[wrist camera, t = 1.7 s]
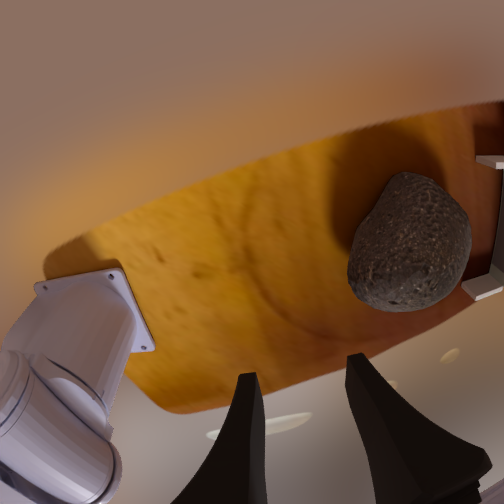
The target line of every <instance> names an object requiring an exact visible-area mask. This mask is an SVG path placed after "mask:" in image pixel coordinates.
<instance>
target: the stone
mask: <svg viewBox="0 0 504 504" xmlns="http://www.w3.org/2000/svg"><path fill="white" fill-rule="evenodd" d="M471 245H472V236H471V226H470V224H469V219H468V216H467V213H466V212H465V211H464V210H463V209H462V208H461V206H460V205H459V203H458V202H456V201H455V200H454V199H453V198H452V197H451V196H450V195H449V194H448V193H447V192H445V191H444V190H443V189H442V188H441V187H440V186H439V185H438V184H437V183H436V182H435V181H434V180H433V179H431V178H428V177H425V176H423V175H420V174H416V173H412V172H401V173H398V174H396V175H394V176H392V178H391V179H390V180H389V182H388V184H387V185H386V187H385V189H384V191H383V193H382V195H381V196H380V198H379V200H378V201H377V203H376V205H375V207H374V208H373V209H372V211H371V212H370V213H369V214H368V215H367V216H366V217H365V219H364V220H363V221H362V222H361V224H360V225H359V226H358V227H357V230H356V233H355V236H354V240H353V244H352V248H351V252H350V256H349V261H348V269H347V276H348V283H349V285H350V286H351V288H352V291H353V292H354V294H355V295H356V297H357V298H358V299H359V300H361V301H363V302H364V303H366V304H368V305H369V306H371V307H373V308H374V309H380V310H383V311H388V312H404V311H415V310H420V309H424V308H426V307H429V306H431V305H433V304H435V303H437V302H438V301H440V300H441V299H443V298H445V297H446V296H447V295H448V294H449V293H451V291H452V290H453V289H454V288H455V286H456V284H457V283H458V281H459V279H460V278H461V276H462V274H463V272H464V270H465V268H466V265H467V262H468V260H469V254H470V250H471Z"/></svg>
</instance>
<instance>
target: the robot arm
mask: <svg viewBox="0 0 504 504" xmlns="http://www.w3.org/2000/svg"><path fill="white" fill-rule="evenodd" d="M110 274H112V275H113V276H114V277H111V276H110ZM34 290H35V292H36V294H37V297H36V298H35V299H34V300H33V301H32V302H31V304H30V305H29V306H28V307H27V309H26V310H25V311H24V312H23V313H22V315H21V316H20V317H19V318H18V320H17V321H16V322H15V324H14V325H13V326H12V327H11V329H10V330H9V331H8V333H7V334H6V336H5V338H4V340H3V343H2V348H1V351H0V504H106V503H107V502H108V501H110V500H111V498H112V497H113V496H114V494H115V493H116V491H117V489H118V487H119V484H120V481H121V477H122V461H121V457H120V455H119V452H118V451H117V449H116V448H115V446H114V445H113V444H112V443H111V442H110V440H111V436H112V433H113V429H114V428H113V427H112V426H111V425H110V424H109V422H108V417H109V414H110V411H111V408H112V405H113V401H114V398H115V395H116V392H117V389H118V386H119V383H120V380H121V377H122V374H123V372H124V369H125V366H126V363H127V360H128V357H129V355H130V352H146V351H153V350H154V349H155V343H154V341H153V339H152V336H151V334H150V332H149V330H148V328H147V326H146V324H145V321H144V319H143V317H142V315H141V312H140V310H139V308H138V306H137V303H136V301H135V299H134V296H133V294H132V291H131V289H130V287H129V284H128V282H127V279H126V277H125V274H124V272H123V270H122V269H120V268H111V269H106V270H100V271H95V272H89V273H84V274H79V275H73V276H68V277H62V278H57V279H52V280H46V281H41V282H37V283H35V284H34ZM144 346H146V347H144ZM345 388H346V392H347V397H348V401H349V405H350V408H351V411H352V413H353V416H354V419H355V422H356V424H357V427H358V430H359V433H360V435H361V438H362V441H363V444H364V447H365V450H366V453H367V456H368V461H369V466H370V471H371V476H372V480H373V486H374V492H375V499H376V504H504V478H503V479H502V480H500V481H499V482H497V483H496V484H494V485H493V486H491V487H490V488H488V489H487V490H485V491H483V492H482V493H479V491H478V488H479V487H480V484H479V481H478V480H479V479H480V478H481V477H482V476H484V475H485V474H486V473H487V472H488V471H489V470H490V469H491V468H492V463H491V461H490V458H489V456H488V455H487V453H486V452H485V450H484V449H483V448H480V447H478V446H475V445H473V444H471V443H468V442H466V441H464V440H462V439H460V438H458V437H456V436H454V435H452V434H451V433H449V432H447V431H446V430H444V429H443V428H441V427H439V426H438V425H436V424H435V423H433V422H432V421H430V420H429V419H428V418H426V417H425V416H424V415H422V414H421V413H420V412H419V411H417V410H416V409H415V408H414V407H413V406H411V405H410V404H409V403H408V402H407V401H406V400H405V399H404V398H403V397H401V396H400V395H399V394H398V393H397V392H396V391H395V390H394V389H393V387H392V386H391V385H390V384H389V383H388V382H387V381H386V380H385V379H384V378H383V377H382V376H381V375H380V373H378V371H377V370H376V369H375V368H374V366H373V365H372V364H371V363H370V361H369V360H368V359H367V358H366V356H365V355H364V354H363V353H358V354H354V355H349V356H347V367H346V380H345ZM264 466H265V414H264V405H263V398H262V394H261V390H260V387H259V383H258V379H257V375H256V372H252V373H244V374H240V375H239V376H238V382H237V386H236V390H235V393H234V397H233V400H232V403H231V406H230V408H229V411H228V414H227V417H226V419H225V422H224V424H223V426H222V428H221V430H220V433H219V435H218V437H217V439H216V441H215V443H214V445H213V447H212V449H211V451H210V452H209V454H208V456H207V457H206V459H205V461H204V462H203V463H202V465H201V467H200V468H199V470H198V471H197V472H196V474H195V475H194V477H193V478H192V479H191V481H190V482H189V483H188V485H187V486H186V487H185V488H184V489H183V491H182V492H181V493H180V494H179V495H178V496H177V497H176V498H175V500H173V502H172V503H170V504H267V493H266V482H265V467H264Z"/></svg>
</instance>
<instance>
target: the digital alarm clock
mask: <svg viewBox="0 0 504 504" xmlns="http://www.w3.org/2000/svg"><path fill="white" fill-rule="evenodd" d="M476 162H478V163H481V164H484V165H487V166H489V167H492V168H495V169H503V185H502V197H501V206H500V215H499V222H498V229H497V235H496V241H495V246H494V252H493V256H492V261H491V266H490V270H489V274H486V275H482V276H479V277H476V278H473V279H470V280H467V281H464V282H462V284H461V287H462V288H463V289H464V290H465V291H466V292H467V293H468V294H469V295H470V296H471V297H472V298H473V299H474V300H475V301H477V300H479V299H482V298H485V297H487V296H490V295H492V294H495V293H497V292H500V291H502V288H503V287H504V156H476Z"/></svg>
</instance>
